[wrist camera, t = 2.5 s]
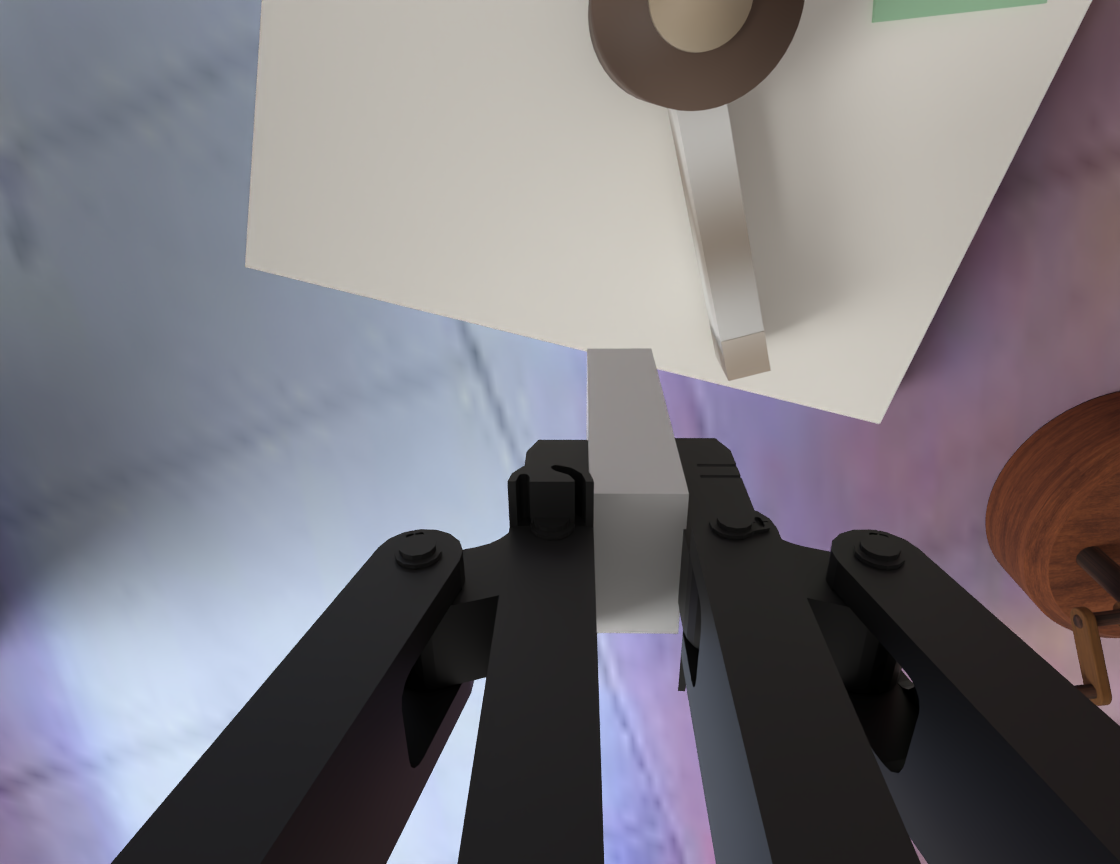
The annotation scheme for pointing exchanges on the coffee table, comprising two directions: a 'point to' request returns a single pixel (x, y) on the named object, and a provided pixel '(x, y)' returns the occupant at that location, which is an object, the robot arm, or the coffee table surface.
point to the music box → (1067, 528)
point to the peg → (704, 131)
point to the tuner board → (644, 175)
